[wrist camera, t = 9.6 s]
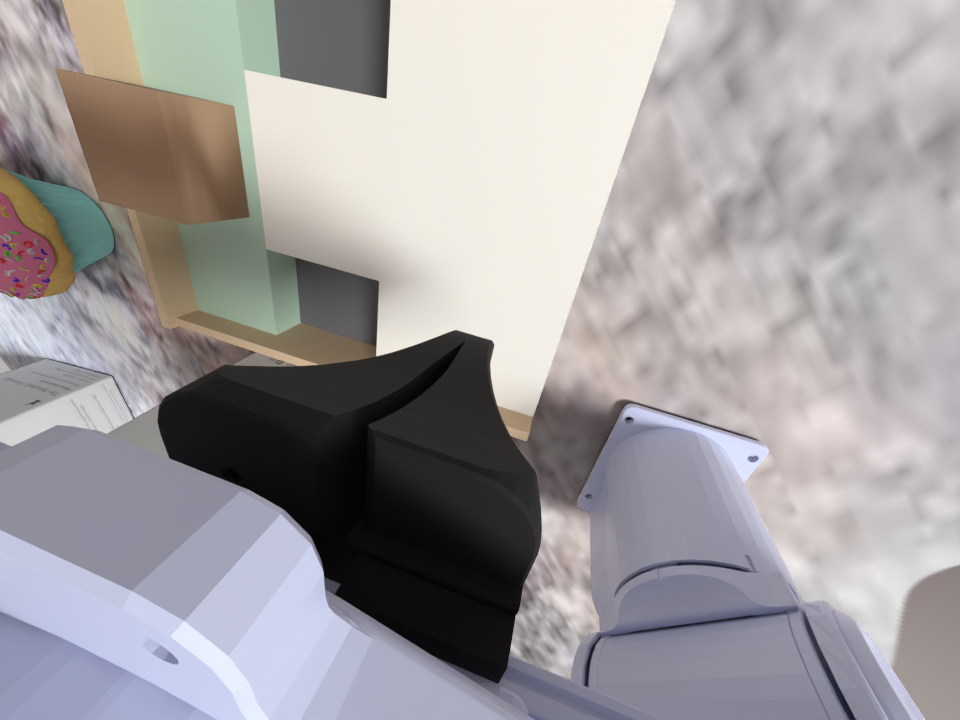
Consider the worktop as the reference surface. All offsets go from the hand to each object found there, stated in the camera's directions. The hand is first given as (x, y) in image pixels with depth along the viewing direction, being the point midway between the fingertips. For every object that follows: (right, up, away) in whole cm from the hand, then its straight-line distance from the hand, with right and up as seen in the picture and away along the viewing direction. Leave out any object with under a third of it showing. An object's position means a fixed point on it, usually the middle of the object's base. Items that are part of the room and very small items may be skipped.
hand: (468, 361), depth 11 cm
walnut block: (-14, +11, +7) cm, 19 cm away
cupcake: (-29, +10, +15) cm, 34 cm away
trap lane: (-5, +9, +8) cm, 13 cm away
